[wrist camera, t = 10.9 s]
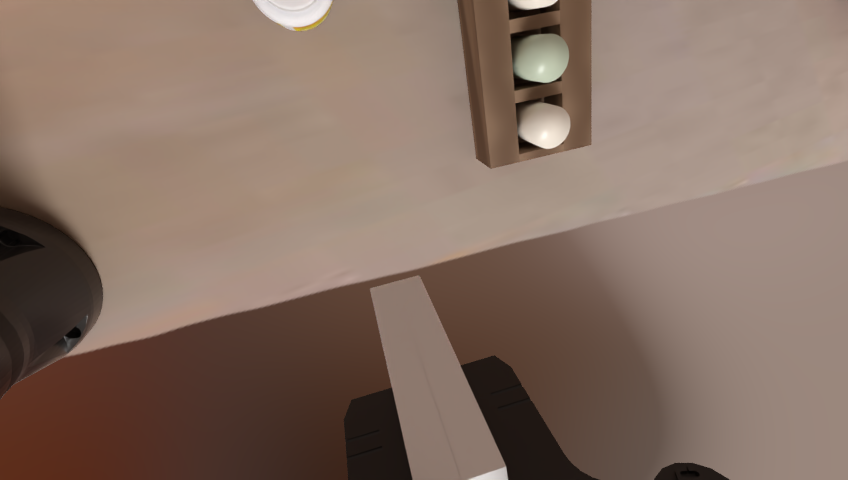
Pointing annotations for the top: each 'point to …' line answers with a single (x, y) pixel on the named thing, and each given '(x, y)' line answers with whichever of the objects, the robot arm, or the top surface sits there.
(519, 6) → the white egg
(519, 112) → the cream egg
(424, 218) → the top surface
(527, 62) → the pale green egg
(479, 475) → the robot arm
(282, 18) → the supplement bottle
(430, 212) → the top surface
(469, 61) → the socket block
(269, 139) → the top surface
